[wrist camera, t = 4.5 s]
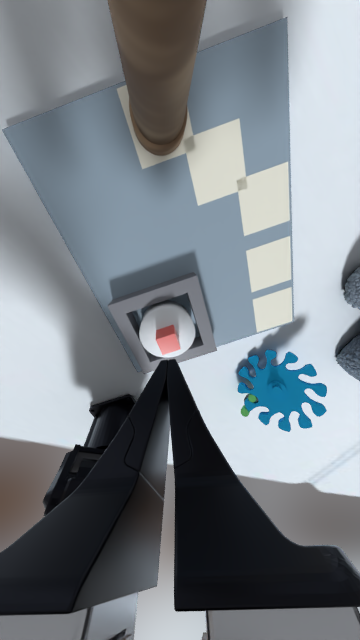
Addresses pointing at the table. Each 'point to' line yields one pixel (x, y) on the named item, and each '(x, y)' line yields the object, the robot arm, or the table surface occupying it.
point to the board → (179, 198)
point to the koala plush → (356, 355)
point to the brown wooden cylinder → (158, 65)
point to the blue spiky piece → (280, 390)
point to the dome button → (167, 329)
